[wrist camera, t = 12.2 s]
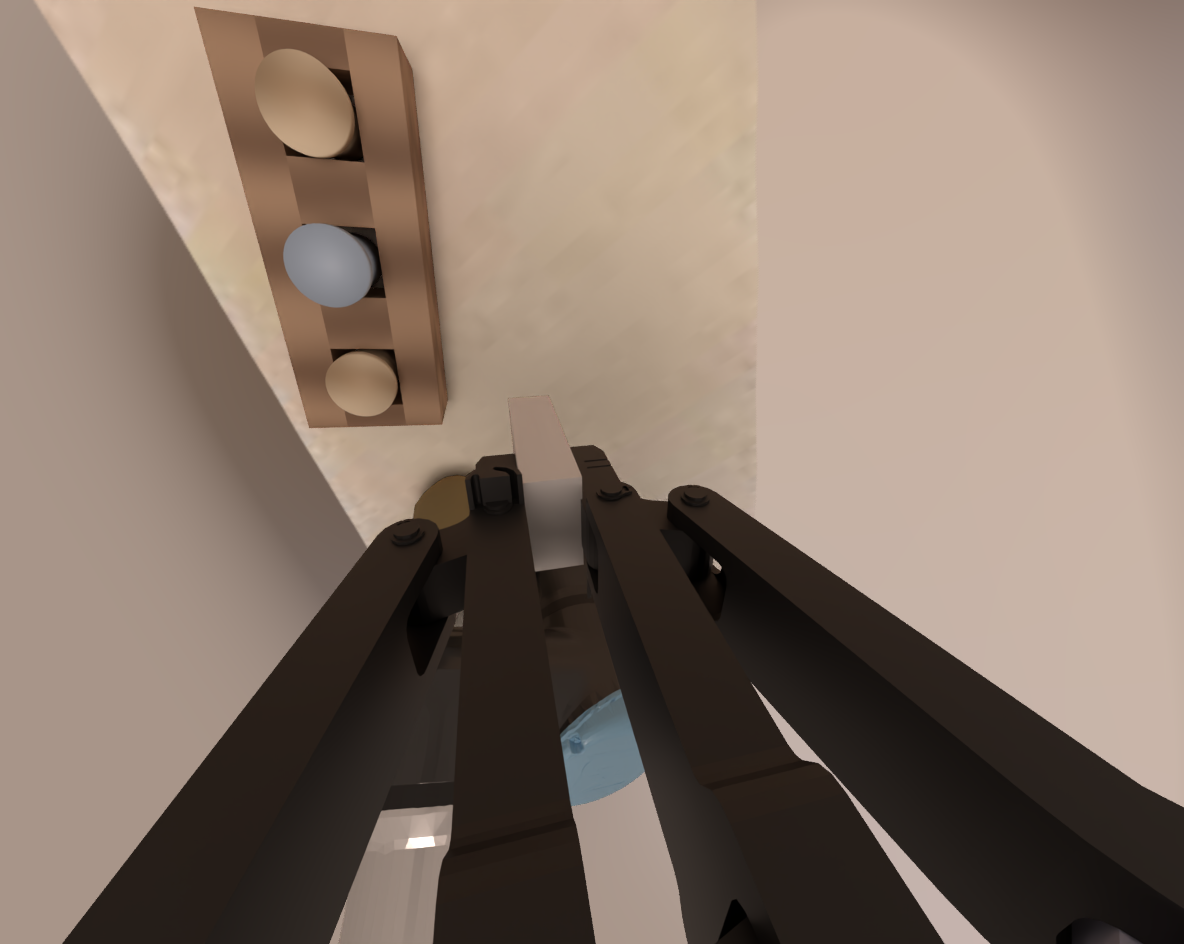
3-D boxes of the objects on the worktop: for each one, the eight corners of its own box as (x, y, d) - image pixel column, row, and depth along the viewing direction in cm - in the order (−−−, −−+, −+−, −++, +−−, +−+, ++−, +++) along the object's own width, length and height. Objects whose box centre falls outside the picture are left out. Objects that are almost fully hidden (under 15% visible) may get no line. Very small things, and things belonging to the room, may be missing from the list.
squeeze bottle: (432, 454, 44) (403, 575, 28) (508, 479, 47) (518, 601, 32) (407, 516, 47) (368, 658, 31) (480, 536, 50) (477, 674, 34)
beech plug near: (382, 172, 32) (357, 159, 26) (311, 167, 31) (269, 152, 25) (370, 90, 29) (340, 55, 23) (294, 81, 28) (242, 42, 22)
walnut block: (447, 400, 42) (442, 424, 36) (332, 402, 40) (309, 427, 34) (412, 68, 30) (396, 36, 25) (247, 47, 28) (193, 6, 23)
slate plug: (395, 294, 34) (375, 308, 28) (330, 292, 33) (295, 306, 27) (385, 226, 32) (361, 226, 26) (315, 222, 31) (273, 220, 25)
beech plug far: (413, 387, 39) (399, 415, 33) (357, 387, 38) (333, 417, 32) (405, 334, 37) (389, 354, 31) (346, 333, 36) (318, 354, 30)
